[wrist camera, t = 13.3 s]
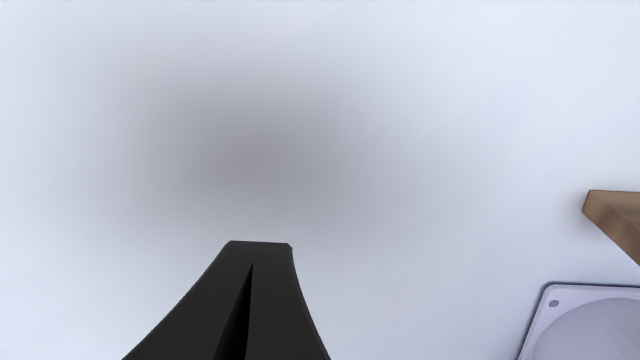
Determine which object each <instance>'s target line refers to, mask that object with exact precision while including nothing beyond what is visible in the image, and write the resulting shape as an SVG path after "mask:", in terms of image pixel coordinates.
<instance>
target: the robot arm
mask: <svg viewBox="0 0 640 360" xmlns="http://www.w3.org/2000/svg"><path fill="white" fill-rule="evenodd" d="M552 300H554V301H552ZM550 301H552V302H550ZM122 360H331V359H330V357H329V355H328V353H327V351H326V349H325V347H324V344H323V342H322V340H321V338H320V336H319V334H318V332H317V329H316V327H315V325H314V322H313V320H312V318H311V315H310V313H309V310H308V307H307V305H306V302H305V300H304V297H303V294H302V291H301V288H300V285H299V282H298V278H297V275H296V271H295V267H294V262H293V254H292V247H291V246H290V245H289V244H288V243H271V242H250V241H229V242H228V243H227V244H226V245H225V246H224V247H223V249H222V250H221V251H220V253H219V254H218V255H217V257H216V258H215V259H214V261H213V262H212V263H211V265H210V266H209V267H208V268H207V270H206V271H205V272H204V273H203V275H202V276H201V277H200V278H199V280H198V281H197V282H196V283H195V284H194V285H193V287H192V288H191V289H190V290H189V291H188V292H187V293H186V295H185V296H184V297H183V298H182V299H181V300H180V301H179V303H178V304H177V305H176V306H175V307H174V308H173V309H172V310H171V311H170V312H169V313H168V314H167V315H166V316H165V317H164V319H163V320H162V321H161V322H160V323H159V324H158V325H157V326H156V327H155V328H154V329H153V330H152V331H151V332H150V333H149V334H148V335H147V336H146V337H145V338H144V339H143V340H142V341H141V342H140V343H139V344H138V345H137V346H136V347H135V348H134V349H132V350H131V351H130V352H129V353H128V354H127V355H126V356H125V357H124V358H123V359H122ZM518 360H640V288H627V287H604V286H582V285H559V284H555V285H551V286H549V287H547V288H546V290H545V291H544V294H543V296H542V299H541V301H540V304H539V306H538V309H537V312H536V314H535V317H534V319H533V322H532V324H531V327H530V330H529V332H528V335H527V337H526V340H525V342H524V345H523V348H522V350H521V353H520V355H519V358H518Z"/></svg>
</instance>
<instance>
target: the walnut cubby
mask: <svg viewBox="0 0 640 360" xmlns="http://www.w3.org/2000/svg"><path fill="white" fill-rule="evenodd" d="M582 212H583V213H584V214H585V215H586V216H587V217H588V218H589V219H590V220H591V221H592V222H593V223H594V224H595V225H596V226H598V227H599V228H600V229H601V230H602V231H603V232H604V233H605V234H606V235H607V236H608V237H609V238H610V239H611V240H612V241H614V242H615V243H616V244H617V245H618V246H619V247H620V248H621V249H622V250H623V251H624V252H625V253H626V254H627V255H628V256H630V257H631V258H632V259H633V260H634V261H635V262H636V263H637V264H638V265H639V266H640V193H637V192H619V191H600V190H590V192H589V195H588V197H587V200H586V202H585V205H584V207H583V210H582Z"/></svg>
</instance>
